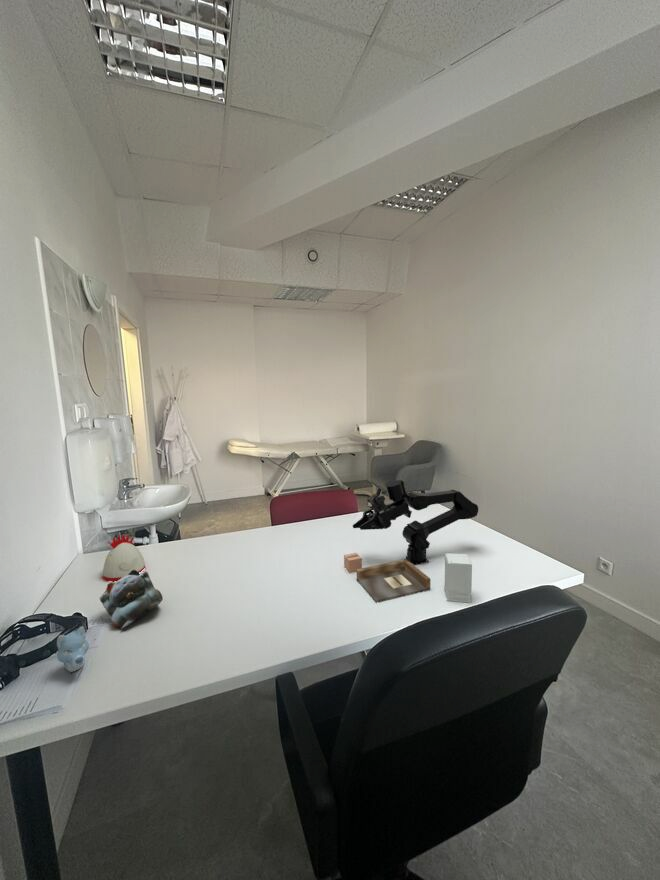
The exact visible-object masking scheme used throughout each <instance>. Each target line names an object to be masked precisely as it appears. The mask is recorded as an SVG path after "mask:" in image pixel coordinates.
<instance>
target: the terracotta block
mask: <svg viewBox="0 0 660 880" xmlns="http://www.w3.org/2000/svg"><path fill="white" fill-rule="evenodd" d="M362 561H363V560H362V557H361V556H360V555H359V554H358V553H357V552H353V553H348V554H343V567H344V569H345V568H346V569H345V570H346V571H347V573H349V574H352V573H353V574H354V573H357V569H361V568H363V565H362V564H363V563H362Z"/></svg>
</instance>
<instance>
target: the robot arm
mask: <svg viewBox="0 0 660 880" xmlns="http://www.w3.org/2000/svg"><path fill="white" fill-rule="evenodd" d="M385 488H386V492H387V495H388V499H389V500H390V501H392V502H391V503H386V502H385V501H386V497H385V496H384V495H378V494H377V493H373V494H371V495H370V496H369V497H368V498H367V499H366V501H367V503H369V504H370V505H371V506H372V507H373V508H372V509H366V510H364V511H363V513H362V517H361V518H360V519H358V520H357V521H356V522H355V523H353V524H352V529H360V530H361V531H367V530H368V531H369V530H383V529H385V530H386V529H389V528H391V527H392V521H395V520H397V518H400V517H402V516H403V515H404V516H405V517H406V518H409V519H410V518H411V517H412V512H413V511H412V510H410V508H412V509H413V510H416V511H422V510H424V509H427V508H428V507H430V506H433V505H438V504H445V503H446V504H447V503H452V504H453V507H452V508H451V509H449V510H447V511H445V512H443V513H440V514H438V515H437V516H434V517H432V518H430V519H428V520H426V521H424V522H420V521H417V520H413V521H412V522H409V523H406V525H405V526H404V527H403V529H402V533H401V534H402V537H403V538H404V539H405V541H406V542H407V543H408V544H407V549H406V550H407V551H406V553H407V554H406V556H405V559H406V560H408V561H409V562H410V563H411V564H413V565H414V566H415V565H416V566H417V565H421V564H425V563H426V564H427V563H429V559H427V549H429V548H430V546H431V545H430V544H431V543H430V541H428V538H429V536H430V535H431V534H434V533H435V532H437V531H439V530H441V529H443V528H445V527H447V526H450V525H451V524H453V523H455V522H457V521H459V520H469V519H473V518H475V517H477V515H478V514H479V505H478V504H476V503H474V502H473V501H471V500H470V499H469V498H468V497H466V496H465V495H464V494H463V493H462V492H461V491H459V490H457V489H450V490H445V491H436V492H428V493H425V492H419V491H409V492H407V491H406V488H405V481H404V480H402V479H398V480H390V481H388V482H386V483H385Z"/></svg>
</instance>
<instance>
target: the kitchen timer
mask: <svg viewBox="0 0 660 880" xmlns="http://www.w3.org/2000/svg"><path fill="white" fill-rule="evenodd" d="M121 536H122V537H121ZM121 536H120V535H119V534H118V536H117V540H116V539H115V537H114V536H113V537H112V543H111V542H110V541H108V544H109V546H111V549H110V550H109V552H108V554H107V555H106V557H105V560H104V562H103V563H104V564H103V569H102V579H103V580H104V581H105V580H106V581H105V582H108V581H118V580H119V579H121V578H122V577H124V576H127V575H128V574H129V573H130V572H131V571H132V570H136V571H137V572H138V573H139V572H141V571H142V570H143V569H144V568H145V569H146V562H145V560H144V557H143V554H142V553H141V551H140V549H138V548H137V546H135V545H134V544H132V543H133V542H134V537H131V539H130V535H126V536H125V533H124V534H123V533H122V535H121ZM129 539H130V540H129Z"/></svg>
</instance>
